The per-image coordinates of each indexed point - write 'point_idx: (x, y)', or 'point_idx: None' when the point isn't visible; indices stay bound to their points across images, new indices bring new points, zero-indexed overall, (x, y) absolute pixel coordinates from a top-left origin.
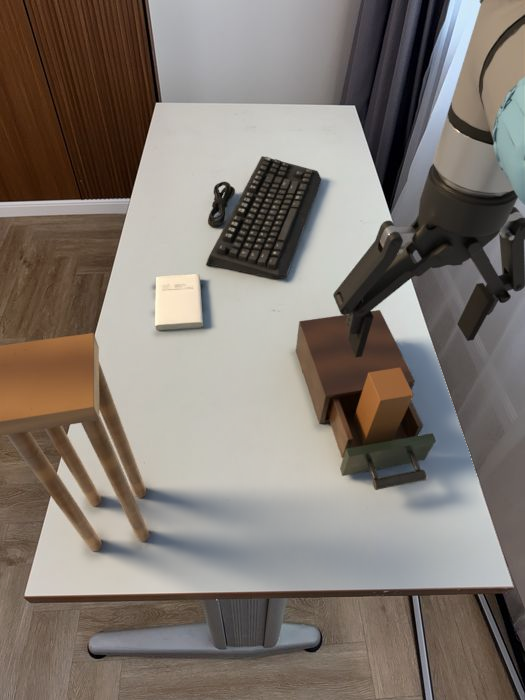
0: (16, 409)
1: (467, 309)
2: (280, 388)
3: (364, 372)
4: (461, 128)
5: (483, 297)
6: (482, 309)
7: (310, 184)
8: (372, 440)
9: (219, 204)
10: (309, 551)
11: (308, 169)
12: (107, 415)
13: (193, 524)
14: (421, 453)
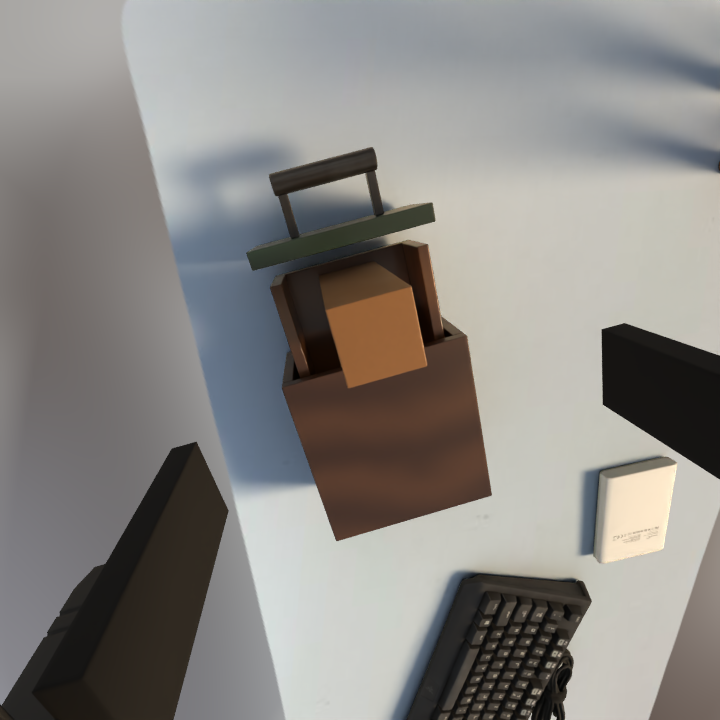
0: None
1: (200, 578)
2: (491, 374)
3: (383, 397)
4: None
5: (118, 689)
6: (130, 596)
7: None
8: (361, 266)
9: (558, 691)
10: (477, 55)
11: None
12: None
13: (656, 106)
14: (268, 244)
